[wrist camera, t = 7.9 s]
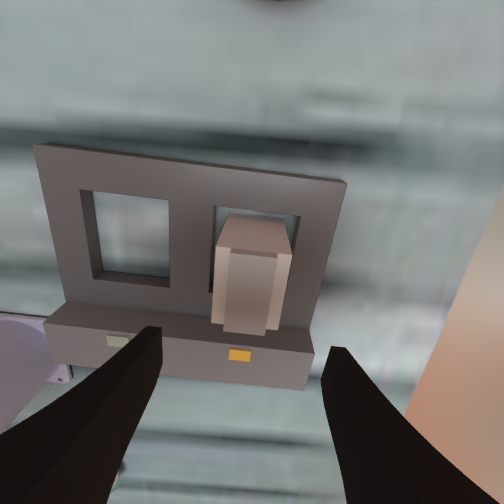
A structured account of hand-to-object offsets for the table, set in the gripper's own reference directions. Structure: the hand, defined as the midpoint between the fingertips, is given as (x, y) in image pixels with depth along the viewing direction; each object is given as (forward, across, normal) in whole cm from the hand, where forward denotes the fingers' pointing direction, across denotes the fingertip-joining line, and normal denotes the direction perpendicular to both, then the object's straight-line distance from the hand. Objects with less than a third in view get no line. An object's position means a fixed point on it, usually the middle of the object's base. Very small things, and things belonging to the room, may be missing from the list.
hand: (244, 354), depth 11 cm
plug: (+10, 0, 0) cm, 11 cm away
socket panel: (+10, +5, +2) cm, 11 cm away
